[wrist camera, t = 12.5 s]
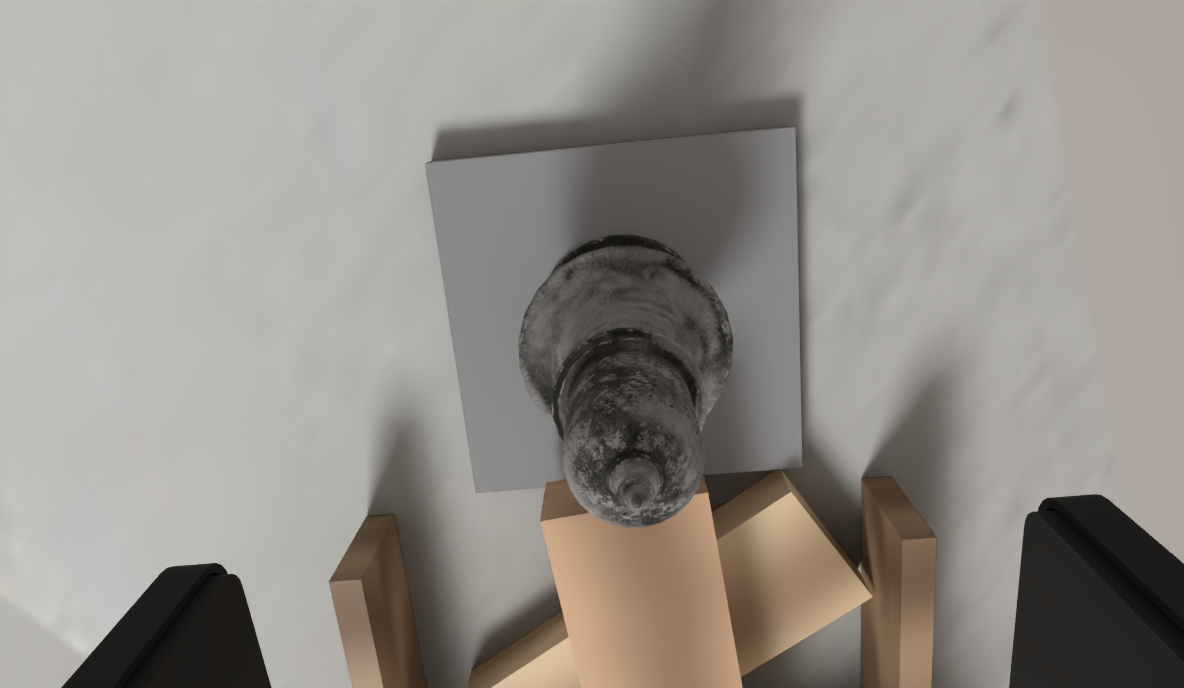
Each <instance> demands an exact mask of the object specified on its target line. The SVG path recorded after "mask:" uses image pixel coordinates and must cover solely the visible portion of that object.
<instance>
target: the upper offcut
mask: <svg viewBox="0 0 1184 688" xmlns="http://www.w3.org/2000/svg"><path fill="white" fill-rule="evenodd" d="M540 523H541V527H542V531H543V535H544V539H545V543H546V547H547V551H548V555H549V559H550V563H551V567H552V571H553V575H554V579H555V583H556V588H557V592H558V596H559V600H560V604H561V608H562V612H563V616H564V620H565V624H566V628H567V632H568V636H569V640H570V644H571V648H572V652H573V656H574V660H575V664H576V668H577V673H578V677H579V681H580V685H581V688H743V687H742V681H741V676H740V670H739V664H738V659H737V653H736V648H735V642H734V636H733V631H732V625H731V619H730V614H729V608H728V602H727V597H726V591H725V585H724V580H723V574H722V568H721V563H720V557H719V551H718V546H717V540H716V535H715V529H714V523H713V518H712V512H711V506H710V501H709V495H708V490H707V487H706V483H705V479H704V475H702V478H701V481H700V484H699V487H698V490H697V491H696V493H695V494H694V496H693V497H692V499H691V501H690V502H689V504H687V505H686V506H685V507H684V508H683V509H682V510H681V511H680V512H679V513H677V514H676V515H675V516H673V517H671V518H669V519H667V520H665V521H664V522H662V523H659V524H655V525H651V526H647V527H633V528H625V527H621V526H617V525H613V524H608V523H606V522H604V521H603V520H601V519H599V518H597V517H595V516H593V515H592V514H590V513H589V512H588V511H587V510H586V509H585V508H584V507H583V506H581V505H580V504H579V502H578V501H577V499H576V498H575V496H574V495H573V493H572V492H571V490H570V488H569V485H568V483H567V480H566V479H564V480H558V481H553V482H547V483H546V487H545V493H544V500H543V506H542V513H541V519H540Z"/></svg>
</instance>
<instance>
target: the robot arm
mask: <svg viewBox="0 0 1184 688" xmlns="http://www.w3.org/2000/svg"><path fill="white" fill-rule="evenodd" d="M62 688H271V685H270V681H269V678H268V674H267V671H266V667H265V664H264V660H263V657H262V653H261V650H260V646H259V643H258V639H257V636H256V632H255V629H254V625H253V622H252V618H251V615H250V611H249V607H248V604H247V600H246V597H245V593H244V590H243V586H242V584H241V581H240V579H239V578H238V577H237V576H236V575H234V574H228V573H227V571H226V570H225V568H224V567H223V566H222V565H220V564H217V563H211V564H198V565H185V566H173V567H169V568H167V569H165V570H164V571H163V572H162V573H161V574H160V575H159V576H158V577H157V578H156V579H155V581H154V582H153V583H152V584H151V585H150V586H149V587H148V589H147V590H146V591H145V592H144V593H143V594H142V596H141V597H140V598H139V599H138V600H137V601H136V602H135V604H134V605H133V606H132V607H131V608H130V609H129V611H128V612H127V613H126V614H125V615H124V616H123V617H122V619H121V620H120V621H119V622H118V623H117V624H116V625H115V627H114V628H113V629H112V630H111V631H110V632H109V634H108V635H107V636H106V637H105V638H104V639H103V640H102V642H101V643H100V644H99V645H98V646H97V647H96V649H95V650H94V651H93V652H92V653H91V654H90V655H89V657H88V658H87V659H86V660H85V661H84V662H83V664H82V665H81V666H80V667H79V668H78V669H77V671H76V672H75V673H74V674H73V675H72V676H71V678H70V679H69V680H68V681H67V682H66V683H65V684H64V685H63V687H62ZM1009 688H1184V564H1183V563H1182V562H1181V561H1180V560H1179V559H1177V558H1176V557H1175V556H1174V555H1173V554H1172V553H1170V552H1169V551H1168V550H1167V549H1166V548H1165V547H1163V546H1162V545H1161V544H1159V542H1157V541H1156V540H1155V539H1154V538H1153V537H1152V536H1150V535H1149V534H1148V533H1147V532H1146V531H1145V530H1143V529H1142V528H1141V527H1140V526H1139V525H1137V524H1136V523H1135V522H1134V521H1133V520H1132V519H1131V518H1129V517H1128V516H1127V515H1126V514H1125V513H1123V512H1122V511H1121V510H1120V509H1119V508H1118V507H1116V506H1115V505H1114V504H1113V503H1112V502H1111V501H1109V500H1108V499H1107V498H1105V497H1103V496H1102V495H1095V494H1093V495H1080V496H1068V497H1055V498H1047V499H1045V500H1043V501H1042V503H1041V504H1040V506H1039V509H1038V512H1031V513H1029V514H1028V516H1027V517H1026V520H1025V525H1024V535H1023V545H1022V556H1021V567H1020V577H1019V588H1018V599H1017V609H1016V620H1015V631H1014V641H1013V652H1012V663H1011V673H1010V684H1009Z"/></svg>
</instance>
